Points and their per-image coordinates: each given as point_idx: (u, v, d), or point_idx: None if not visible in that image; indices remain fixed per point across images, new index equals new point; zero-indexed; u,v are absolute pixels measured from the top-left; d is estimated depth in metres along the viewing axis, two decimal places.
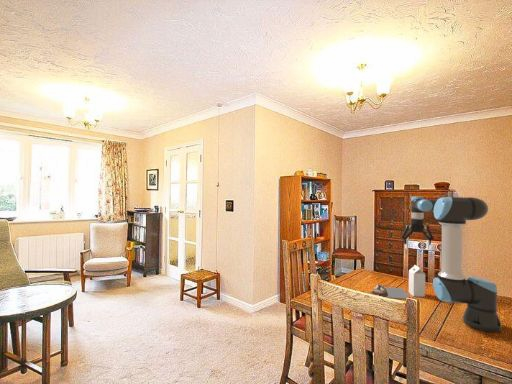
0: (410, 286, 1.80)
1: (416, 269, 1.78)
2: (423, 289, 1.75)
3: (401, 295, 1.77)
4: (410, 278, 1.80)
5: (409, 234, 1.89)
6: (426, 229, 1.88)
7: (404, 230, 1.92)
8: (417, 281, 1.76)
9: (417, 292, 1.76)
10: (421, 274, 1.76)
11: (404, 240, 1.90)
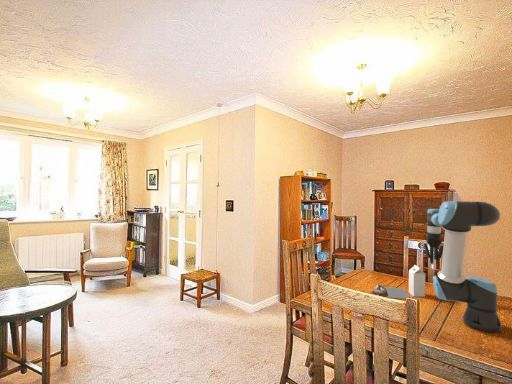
0: (410, 286, 1.80)
1: (416, 269, 1.78)
2: (423, 289, 1.75)
3: (401, 295, 1.77)
4: (410, 278, 1.80)
5: (432, 252, 1.76)
6: (440, 246, 1.77)
7: (425, 248, 1.79)
8: (417, 281, 1.76)
9: (417, 292, 1.76)
10: (421, 274, 1.76)
11: (431, 260, 1.77)
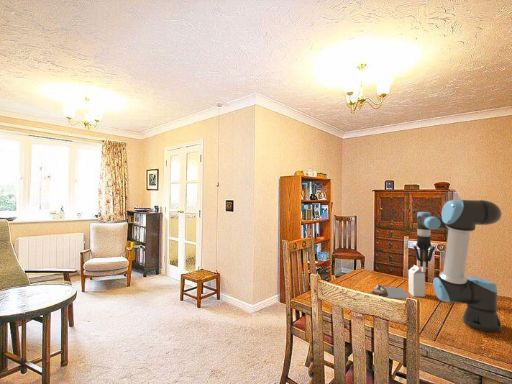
0: (410, 286, 1.80)
1: (416, 269, 1.78)
2: (423, 289, 1.75)
3: (401, 295, 1.77)
4: (410, 278, 1.81)
5: (422, 255, 1.78)
6: (430, 249, 1.78)
7: (415, 251, 1.81)
8: (417, 281, 1.76)
9: (417, 292, 1.76)
10: (421, 274, 1.76)
11: (420, 262, 1.78)
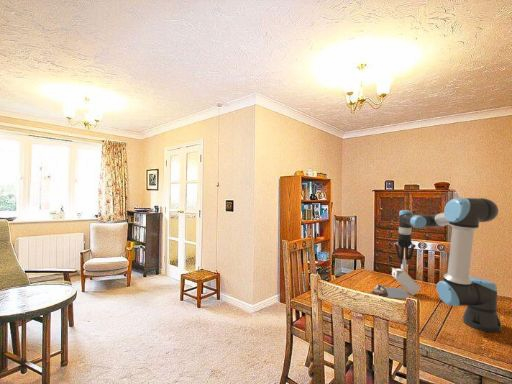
0: (404, 287, 1.81)
1: (395, 272, 1.80)
2: (414, 283, 1.77)
3: (401, 295, 1.77)
4: (398, 281, 1.82)
5: (402, 252, 1.80)
6: (411, 247, 1.80)
7: None
8: (404, 281, 1.77)
9: (413, 289, 1.76)
10: (402, 273, 1.78)
11: (400, 260, 1.81)
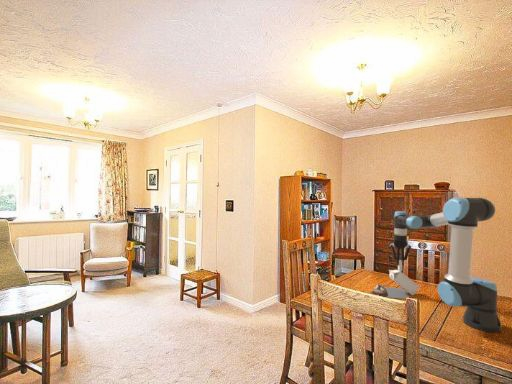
0: (403, 288, 1.81)
1: (392, 274, 1.80)
2: (412, 283, 1.77)
3: (401, 295, 1.77)
4: (397, 283, 1.82)
5: (398, 253, 1.80)
6: (407, 248, 1.81)
7: None
8: (402, 282, 1.77)
9: (412, 289, 1.76)
10: (399, 275, 1.78)
11: (397, 261, 1.81)
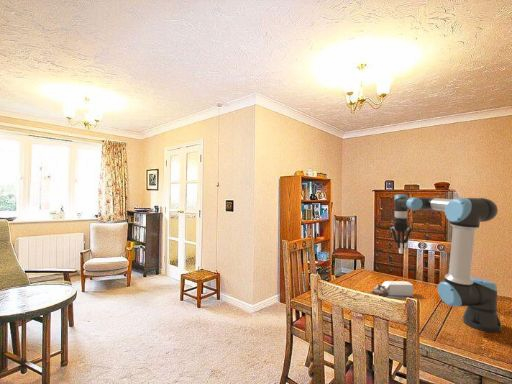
0: None
1: None
2: (405, 286, 1.76)
3: None
4: None
5: (399, 236, 1.80)
6: (407, 231, 1.81)
7: (392, 233, 1.83)
8: (397, 292, 1.76)
9: (409, 291, 1.76)
10: (390, 288, 1.77)
11: (398, 244, 1.81)
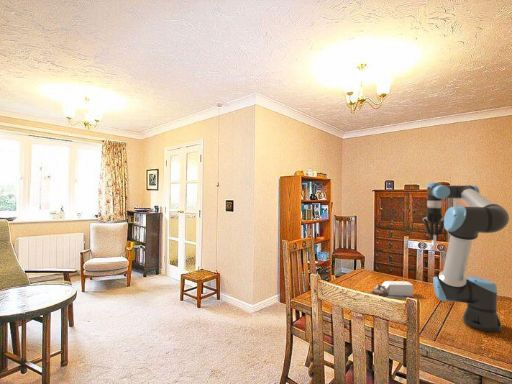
0: None
1: None
2: (405, 286, 1.76)
3: None
4: None
5: (432, 227, 1.69)
6: (441, 221, 1.70)
7: None
8: (397, 292, 1.76)
9: (409, 291, 1.76)
10: (390, 288, 1.77)
11: (431, 236, 1.70)
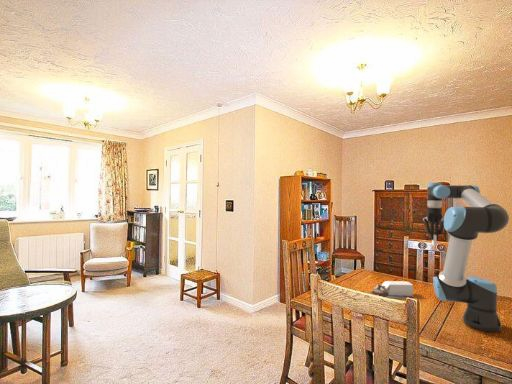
0: None
1: None
2: (405, 286, 1.76)
3: None
4: None
5: (432, 227, 1.69)
6: (441, 221, 1.69)
7: (425, 224, 1.72)
8: (397, 292, 1.76)
9: (409, 291, 1.76)
10: (390, 288, 1.77)
11: (431, 236, 1.70)
